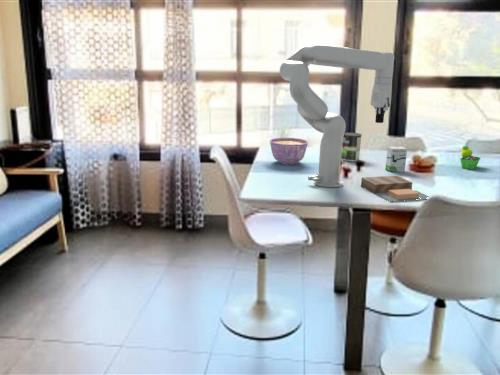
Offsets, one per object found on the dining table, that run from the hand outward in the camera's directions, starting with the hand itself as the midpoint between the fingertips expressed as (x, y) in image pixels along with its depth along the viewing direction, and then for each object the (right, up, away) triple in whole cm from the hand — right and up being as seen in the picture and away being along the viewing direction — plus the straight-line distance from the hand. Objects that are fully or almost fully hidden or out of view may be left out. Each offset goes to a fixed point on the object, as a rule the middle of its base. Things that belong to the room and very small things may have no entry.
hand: (379, 122), depth 235 cm
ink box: (+15, -21, +28) cm, 38 cm away
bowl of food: (-38, -17, +39) cm, 57 cm away
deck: (+1, -30, -6) cm, 31 cm away
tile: (+5, -31, -19) cm, 37 cm away
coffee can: (-4, -14, +51) cm, 53 cm away
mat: (+6, -33, -17) cm, 38 cm away
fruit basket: (+56, -19, +39) cm, 71 cm away
